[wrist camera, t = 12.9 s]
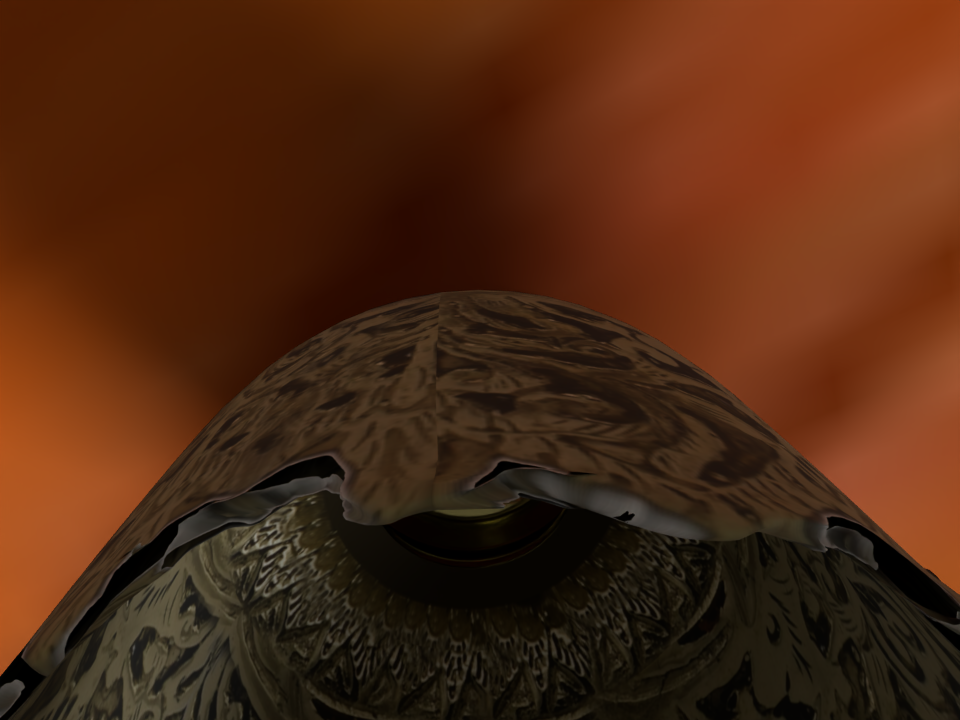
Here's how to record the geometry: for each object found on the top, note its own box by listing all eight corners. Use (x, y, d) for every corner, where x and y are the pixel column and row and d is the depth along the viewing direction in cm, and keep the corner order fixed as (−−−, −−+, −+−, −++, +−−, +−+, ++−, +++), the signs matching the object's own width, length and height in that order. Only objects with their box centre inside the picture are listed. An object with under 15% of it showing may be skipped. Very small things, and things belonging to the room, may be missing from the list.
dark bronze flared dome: (653, 76, 11) (1117, 291, 3) (771, 540, 14) (1157, 1191, 6) (105, 275, 11) (-477, 808, 4) (329, 676, 14) (221, 1405, 7)
